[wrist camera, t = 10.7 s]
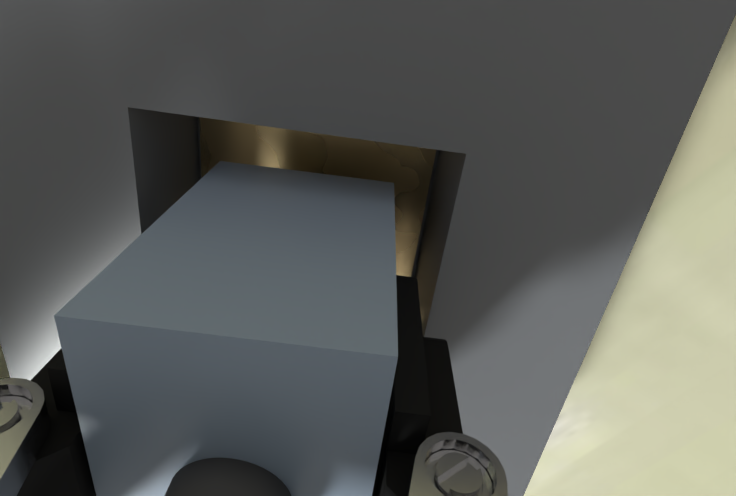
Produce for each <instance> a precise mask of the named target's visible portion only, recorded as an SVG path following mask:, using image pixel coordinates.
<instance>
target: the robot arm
mask: <svg viewBox="0 0 736 496" xmlns="http://www.w3.org/2000/svg"><path fill="white" fill-rule="evenodd" d="M396 286H397V329H398V360H397V365H396V371H395V376H394V381H393V387H392V392H391V397H390V402H389V408H388V413H387V418H386V424H385V429H384V434H383V439H382V445H381V450H380V455H379V461H378V466H377V471H376V477H375V482H374V487H373V492H372V496H508V488H507V479H506V474H505V470H504V468H503V466H502V464H501V462H500V461H499V459H498V457H497V456H496V455H495V454H494V453H493V452H492V451H491V450H490V449H489V448H488V447H487V446H486V445H484V444H483V443H481V442H480V441H478V440H477V439H475V438H472V437H470V436H467V435H465V434H463V431H462V425H461V419H460V413H459V407H458V401H457V395H456V389H455V383H454V377H453V372H452V366H451V360H450V354H449V348H448V344H447V341H446V340H445V339H437V338H430V337H423V332H422V322H421V312H420V302H419V291H418V281H417V278H415V277H408V276H400V275H396ZM0 496H96V492H95V488H94V484H93V479H92V475H91V471H90V467H89V463H88V458H87V454H86V450H85V446H84V441H83V437H82V433H81V429H80V424H79V420H78V416H77V412H76V407H75V403H74V399H73V395H72V390H71V386H70V382H69V378H68V373H67V369H66V365H65V361H64V356H63V352H62V348H61V349H60V350H59V351H58V352H57V353H56V354H55V355H54V356H53V357H52V358H51V359H50V361H49V362H48V363H47V364H46V365H45V366H44V367H43V368H42V369H41V370H40V371H39V372H38V373H37V374H36V375H35V376H34V377H33V378H32V379H31V380H27V379H22V378H3V379H0Z"/></svg>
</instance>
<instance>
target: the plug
mask: <svg viewBox="0 0 736 496" xmlns="http://www.w3.org/2000/svg"><path fill="white" fill-rule="evenodd" d="M54 318H55V323H56V327H57V331H58V335H59V339H60V344H61V348H62V352H63V356H64V361H65V365H66V369H67V373H68V378H69V382H70V386H71V390H72V395H73V399H74V403H75V407H76V412H77V416H78V420H79V424H80V429H81V433H82V437H83V441H84V446H85V450H86V454H87V458H88V463H89V467H90V471H91V475H92V479H93V484H94V488H95V492H96V496H372V492H373V487H374V482H375V477H376V471H377V466H378V461H379V455H380V450H381V445H382V439H383V434H384V429H385V424H386V418H387V413H388V408H389V402H390V397H391V392H392V387H393V381H394V376H395V371H396V365H397V360H398V329H397V286H396V242H395V199H394V183H392V182H384V181H376V180H368V179H360V178H352V177H344V176H336V175H328V174H320V173H312V172H304V171H296V170H288V169H280V168H273V167H265V166H257V165H249V164H241V163H233V162H225V161H220V162H219V163H217V164H216V165H215V166H214V167H213V168H212V169H211V170H210V171H209V172H208V173H207V174H206V175H205V176H203V177H202V178H201V179H200V180H199V181H198V182H197V183H196V184H195V185H194V186H193V187H192V188H191V189H189V190H188V191H187V192H186V193H185V194H184V195H183V196H182V197H181V198H180V199H179V200H178V201H177V202H176V203H174V204H173V205H172V206H171V207H170V208H169V209H168V210H167V211H166V212H165V213H164V214H163V215H162V216H160V217H159V218H158V219H157V220H156V221H155V222H154V223H153V224H152V225H151V226H150V227H149V228H148V229H146V230H145V231H144V232H143V233H142V234H141V235H140V236H139V237H138V238H137V239H136V240H135V241H134V242H133V243H131V244H130V245H129V246H128V247H127V248H126V249H125V250H124V251H123V252H122V253H121V254H120V255H119V256H117V257H116V258H115V259H114V260H113V261H112V262H111V263H110V264H109V265H108V266H107V267H106V268H105V269H104V270H102V271H101V272H100V273H99V274H98V275H97V276H96V277H95V278H94V279H93V280H92V281H91V282H90V283H88V284H87V285H86V286H85V287H84V288H83V289H82V290H81V291H80V292H79V293H78V294H77V295H76V296H74V297H73V298H72V299H71V300H70V301H69V302H68V303H67V304H66V305H65V306H64V307H63V308H62V309H61V310H59V311H58V312H57V313H56V314H55V315H54Z"/></svg>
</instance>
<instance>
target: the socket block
mask: <svg viewBox="0 0 736 496" xmlns="http://www.w3.org/2000/svg"><path fill="white" fill-rule="evenodd" d="M735 15H736V0H0V345H1V348H2V351H3V355H4V358H5V361H6V365H7V368H8V371H9V375H10V378H22V379H27V380H31V379H32V378H33V377H34V376H35V375H36V374H37V373H38V372H39V371H40V370H41V369H42V368H43V367H44V366H45V365H46V364H47V363H48V362H49V361H50V359H51V358H52V357H53V356H54V355H55V354H56V353H57V352H58V351H59V350H60V349H61V344H60V339H59V335H58V331H57V327H56V323H55V318H54V315H55V314H56V313H57V312H58V311H59V310H61V309H62V308H63V307H64V306H65V305H66V304H67V303H68V302H69V301H70V300H71V299H72V298H73V297H74V296H76V295H77V294H78V293H79V292H80V291H81V290H82V289H83V288H84V287H85V286H86V285H87V284H88V283H90V282H91V281H92V280H93V279H94V278H95V277H96V276H97V275H98V274H99V273H100V272H101V271H102V270H104V269H105V268H106V267H107V266H108V265H109V264H110V263H111V262H112V261H113V260H114V259H115V258H116V257H117V256H119V255H120V254H121V253H122V252H123V251H124V250H125V249H126V248H127V247H128V246H129V245H130V244H131V243H133V242H134V241H135V240H136V239H137V238H138V237H139V236H140V235H141V234H142V233H143V232H144V231H145V230H146V229H148V228H149V227H150V226H151V225H152V224H153V223H154V222H155V221H156V220H157V219H158V218H159V217H160V216H162V215H163V214H164V213H165V212H166V211H167V210H168V209H169V208H170V207H171V206H172V205H173V204H174V203H176V202H177V201H178V200H179V199H180V198H181V197H182V196H183V195H184V194H185V193H186V192H187V191H188V190H189V189H191V188H192V187H193V186H194V185H195V184H196V183H197V182H198V181H199V180H200V179H201V178H202V177H203V176H205V175H206V174H207V173H208V172H209V171H210V170H211V169H212V168H213V167H214V166H215V165H216V164H217V163H219V162H220V161H225V162H233V163H241V164H249V165H257V166H265V167H273V168H280V169H288V170H296V171H304V172H312V173H320V174H328V175H336V176H344V177H352V178H360V179H368V180H376V181H384V182H392V183H394V199H395V242H396V275H400V276H408V277H415V278H417V281H418V291H419V302H420V312H421V322H422V332H423V337H430V338H437V339H445V340H446V341H447V344H448V348H449V354H450V360H451V366H452V372H453V377H454V383H455V389H456V395H457V401H458V407H459V413H460V419H461V425H462V431H463V434H465V435H467V436H470V437H472V438H475V439H477V440H478V441H480V442H481V443H483V444H484V445H486V446H487V447H488V448H489V449H490V450H491V451H492V452H493V453H494V454H495V455H496V456H497V457H498V459H499V461H500V462H501V464H502V466H503V468H504V470H505V474H506V479H507V488H508V496H523V495H524V493H525V491H526V489H527V486H528V484H529V482H530V479H531V477H532V475H533V473H534V470H535V468H536V466H537V464H538V461H539V459H540V457H541V455H542V452H543V450H544V448H545V445H546V443H547V441H548V439H549V436H550V434H551V432H552V430H553V427H554V425H555V423H556V420H557V418H558V416H559V414H560V411H561V409H562V407H563V405H564V402H565V400H566V398H567V396H568V393H569V391H570V389H571V386H572V384H573V382H574V380H575V377H576V375H577V373H578V371H579V368H580V366H581V364H582V362H583V359H584V357H585V355H586V352H587V350H588V348H589V346H590V343H591V341H592V339H593V337H594V334H595V332H596V330H597V328H598V325H599V323H600V321H601V318H602V316H603V314H604V312H605V309H606V307H607V305H608V303H609V300H610V298H611V296H612V293H613V291H614V289H615V287H616V284H617V282H618V280H619V278H620V275H621V273H622V271H623V269H624V266H625V264H626V262H627V259H628V257H629V255H630V253H631V250H632V248H633V246H634V244H635V241H636V239H637V237H638V235H639V232H640V230H641V228H642V225H643V223H644V221H645V219H646V216H647V214H648V212H649V210H650V207H651V205H652V203H653V200H654V198H655V196H656V194H657V191H658V189H659V187H660V185H661V182H662V180H663V178H664V176H665V173H666V171H667V169H668V166H669V164H670V162H671V160H672V157H673V155H674V153H675V151H676V148H677V146H678V144H679V142H680V139H681V137H682V135H683V132H684V130H685V128H686V126H687V123H688V121H689V119H690V117H691V114H692V112H693V110H694V107H695V105H696V103H697V101H698V98H699V96H700V94H701V92H702V89H703V87H704V85H705V83H706V80H707V78H708V76H709V73H710V71H711V69H712V67H713V64H714V62H715V60H716V58H717V55H718V53H719V51H720V49H721V46H722V44H723V42H724V39H725V37H726V35H727V33H728V30H729V28H730V26H731V24H732V21H733V19H734V17H735Z"/></svg>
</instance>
